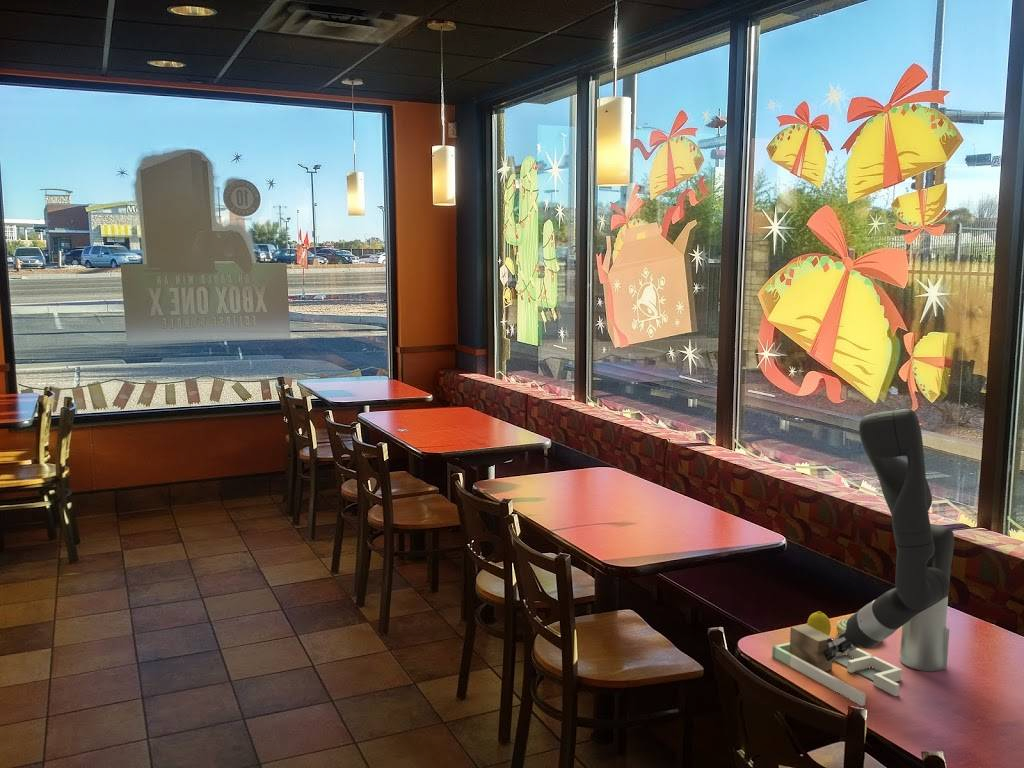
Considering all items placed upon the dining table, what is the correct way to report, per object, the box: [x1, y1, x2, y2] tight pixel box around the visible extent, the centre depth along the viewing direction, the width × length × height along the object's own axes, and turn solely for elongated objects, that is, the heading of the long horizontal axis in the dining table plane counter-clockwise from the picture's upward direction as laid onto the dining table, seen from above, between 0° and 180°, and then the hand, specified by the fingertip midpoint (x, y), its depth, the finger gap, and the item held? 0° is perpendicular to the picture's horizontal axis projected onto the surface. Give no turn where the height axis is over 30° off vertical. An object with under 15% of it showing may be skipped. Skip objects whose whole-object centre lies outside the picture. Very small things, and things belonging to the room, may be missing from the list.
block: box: [789, 623, 835, 672], centre depth 209 cm, size 9×4×8 cm, turn 24°
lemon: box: [806, 610, 832, 636], centre depth 220 cm, size 6×6×8 cm
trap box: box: [789, 647, 903, 707], centre depth 202 cm, size 21×18×2 cm
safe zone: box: [771, 641, 793, 667], centre depth 212 cm, size 6×11×2 cm, turn 116°
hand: (827, 656), depth 204 cm, fingers closed
